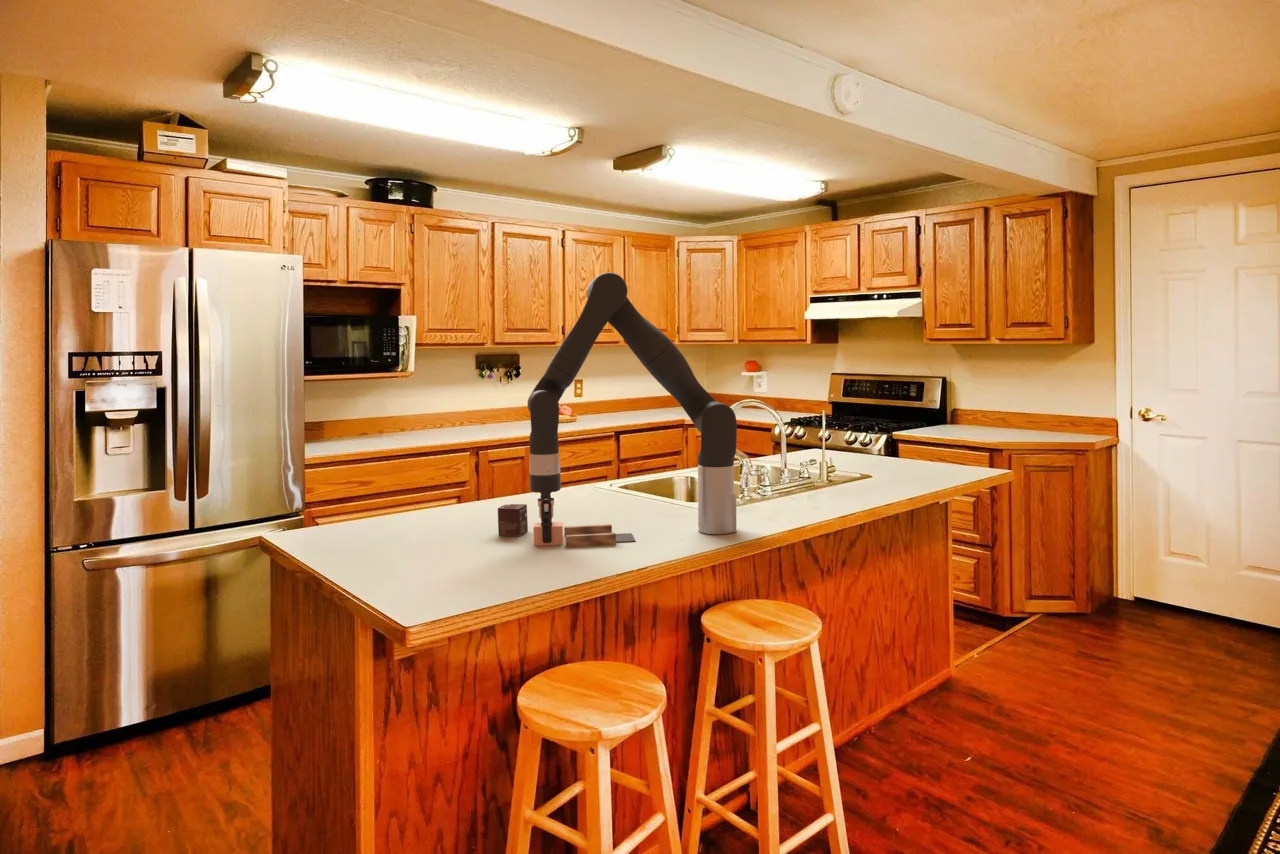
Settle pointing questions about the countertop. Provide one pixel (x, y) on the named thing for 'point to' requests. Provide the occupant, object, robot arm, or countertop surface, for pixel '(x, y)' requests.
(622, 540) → the mat
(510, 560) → the countertop surface
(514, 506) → the box
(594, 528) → the brown wooden channel
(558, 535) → the block
